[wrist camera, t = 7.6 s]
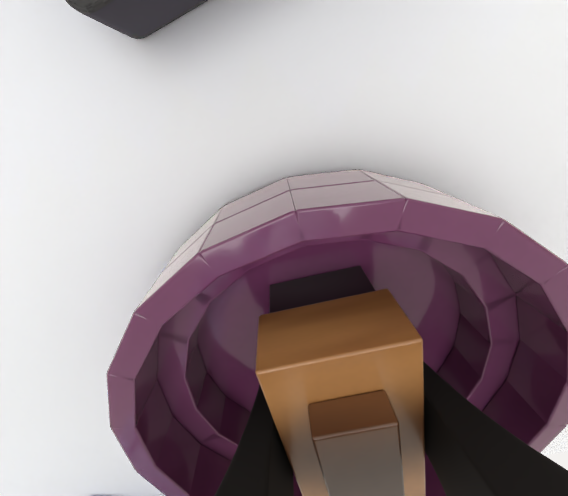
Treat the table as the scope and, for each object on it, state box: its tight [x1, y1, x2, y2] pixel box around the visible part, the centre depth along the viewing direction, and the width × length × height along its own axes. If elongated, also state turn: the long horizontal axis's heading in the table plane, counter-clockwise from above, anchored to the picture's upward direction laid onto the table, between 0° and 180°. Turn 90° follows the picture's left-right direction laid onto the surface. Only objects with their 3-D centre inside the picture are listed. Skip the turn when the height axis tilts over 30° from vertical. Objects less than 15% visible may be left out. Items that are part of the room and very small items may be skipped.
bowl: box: [107, 169, 568, 496], centre depth 11 cm, size 16×16×4 cm
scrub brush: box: [255, 266, 426, 496], centre depth 10 cm, size 8×4×6 cm, turn 13°
